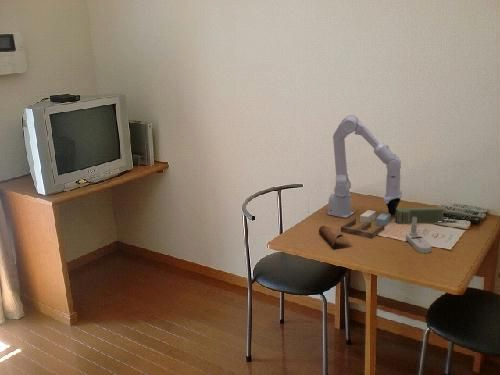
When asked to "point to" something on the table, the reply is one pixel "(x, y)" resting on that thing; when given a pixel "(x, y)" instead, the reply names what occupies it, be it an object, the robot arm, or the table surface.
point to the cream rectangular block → (368, 216)
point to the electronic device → (417, 239)
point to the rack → (361, 229)
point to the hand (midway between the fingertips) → (392, 214)
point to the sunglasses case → (334, 237)
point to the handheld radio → (420, 214)
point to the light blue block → (383, 219)
